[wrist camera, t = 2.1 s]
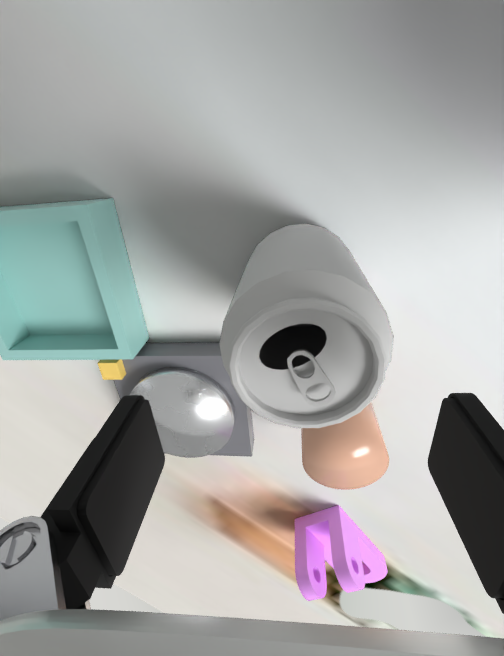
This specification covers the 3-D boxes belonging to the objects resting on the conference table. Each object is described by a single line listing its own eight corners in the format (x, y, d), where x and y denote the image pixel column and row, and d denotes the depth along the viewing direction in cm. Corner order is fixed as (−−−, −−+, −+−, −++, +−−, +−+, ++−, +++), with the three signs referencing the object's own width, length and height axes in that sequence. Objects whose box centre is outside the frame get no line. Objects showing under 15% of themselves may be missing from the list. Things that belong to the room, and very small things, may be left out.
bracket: (294, 517, 37) (295, 589, 31) (338, 503, 35) (348, 577, 29) (350, 573, 41) (360, 647, 35) (392, 564, 39) (411, 639, 33)
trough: (112, 198, 22) (86, 204, 19) (149, 338, 27) (132, 359, 24) (-29, 208, 23) (-73, 216, 21) (31, 339, 29) (2, 360, 26)
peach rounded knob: (373, 377, 27) (394, 432, 21) (367, 430, 29) (384, 491, 24) (300, 377, 27) (302, 430, 22) (300, 429, 30) (302, 487, 25)
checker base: (243, 342, 26) (238, 361, 24) (254, 439, 31) (250, 463, 29) (114, 343, 28) (96, 362, 25) (144, 436, 33) (132, 459, 30)
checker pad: (229, 366, 25) (226, 375, 24) (240, 448, 29) (238, 459, 28) (120, 366, 26) (113, 375, 25) (146, 445, 31) (140, 455, 29)
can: (321, 197, 21) (351, 242, 10) (371, 291, 23) (436, 405, 13) (227, 258, 23) (173, 345, 13) (281, 337, 26) (274, 463, 15)
